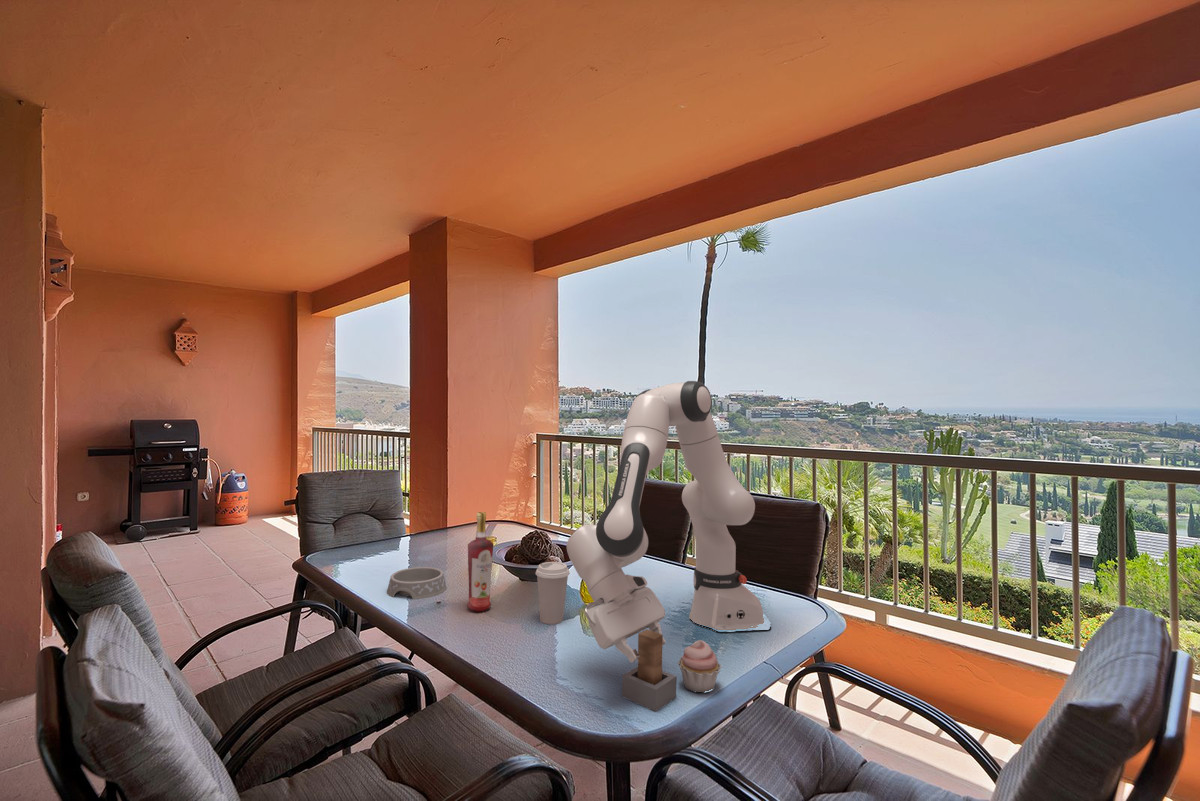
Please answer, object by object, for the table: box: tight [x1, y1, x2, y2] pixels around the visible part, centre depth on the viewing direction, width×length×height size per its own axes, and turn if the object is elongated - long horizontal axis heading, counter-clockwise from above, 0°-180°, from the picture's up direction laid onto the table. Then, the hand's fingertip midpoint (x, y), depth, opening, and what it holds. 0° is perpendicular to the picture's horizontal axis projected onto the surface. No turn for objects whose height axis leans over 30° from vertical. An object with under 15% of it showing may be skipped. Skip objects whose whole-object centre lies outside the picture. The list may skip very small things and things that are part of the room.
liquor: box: [467, 511, 494, 613], centre depth 158 cm, size 7×7×28 cm
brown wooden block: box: [637, 629, 664, 685], centre depth 112 cm, size 4×3×12 cm
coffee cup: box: [535, 561, 571, 625], centre depth 151 cm, size 10×10×15 cm
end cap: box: [621, 666, 678, 713], centre depth 111 cm, size 8×7×4 cm
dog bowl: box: [386, 566, 447, 600], centre depth 174 cm, size 17×18×5 cm
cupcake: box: [677, 639, 722, 693], centre depth 116 cm, size 9×9×10 cm
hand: (649, 652), depth 112 cm, fingers open, 8 cm apart
